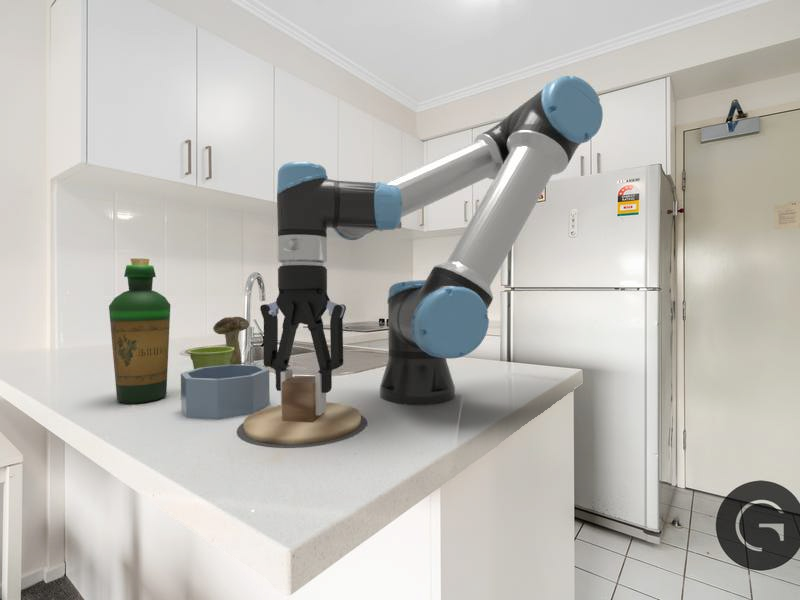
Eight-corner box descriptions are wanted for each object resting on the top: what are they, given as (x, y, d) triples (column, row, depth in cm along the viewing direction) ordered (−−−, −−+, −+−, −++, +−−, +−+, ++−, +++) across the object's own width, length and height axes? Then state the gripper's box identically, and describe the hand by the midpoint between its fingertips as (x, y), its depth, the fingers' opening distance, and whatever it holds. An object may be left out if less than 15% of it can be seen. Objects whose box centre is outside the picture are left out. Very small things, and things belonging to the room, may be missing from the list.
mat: (379, 412, 76) (379, 410, 76) (345, 456, 56) (345, 452, 56) (274, 407, 80) (274, 404, 80) (207, 446, 60) (207, 442, 60)
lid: (372, 411, 75) (372, 370, 75) (340, 449, 58) (339, 395, 57) (277, 406, 79) (277, 367, 78) (218, 440, 61) (218, 390, 61)
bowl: (279, 401, 84) (279, 365, 84) (240, 423, 70) (240, 381, 70) (214, 398, 86) (214, 363, 86) (164, 419, 73) (164, 378, 72)
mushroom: (248, 377, 107) (247, 317, 106) (210, 379, 104) (209, 318, 104) (250, 370, 116) (249, 315, 115) (215, 372, 113) (214, 315, 113)
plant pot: (218, 394, 90) (217, 353, 90) (178, 392, 92) (178, 351, 91) (243, 384, 99) (242, 347, 99) (206, 382, 101) (206, 346, 101)
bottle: (115, 409, 78) (112, 256, 78) (106, 398, 86) (103, 259, 86) (178, 399, 85) (176, 258, 85) (165, 390, 93) (163, 261, 93)
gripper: (236, 264, 65) (238, 415, 66) (350, 262, 62) (351, 422, 63) (261, 266, 73) (262, 403, 73) (364, 265, 69) (365, 408, 70)
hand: (303, 411), depth 68 cm, fingers closed on lid, 5 cm apart
